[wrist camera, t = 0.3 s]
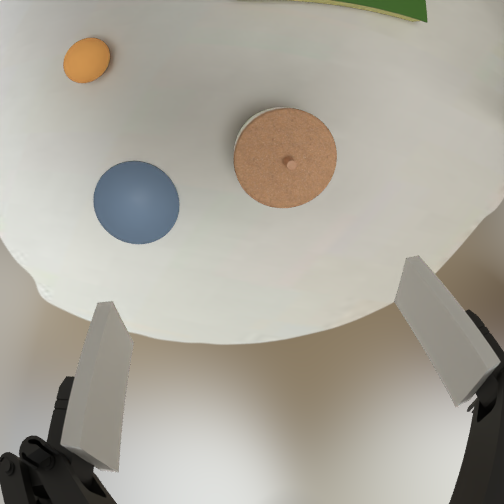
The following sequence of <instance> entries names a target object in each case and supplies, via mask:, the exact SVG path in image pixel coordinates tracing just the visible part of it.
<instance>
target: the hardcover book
mask: <svg viewBox="0 0 504 504" xmlns="http://www.w3.org/2000/svg"><path fill="white" fill-rule="evenodd" d="M289 1H304V2H315V3H324V4H332V5H339V6H346V7H352V8H357V9H363V10H368V11H373V12H377V13H382V14H386V15H390V16H394V17H398V18H401V19H405V20H409V21H412V22H414V21H423V22H427V11H426V1H425V0H289Z"/></svg>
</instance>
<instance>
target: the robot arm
mask: <svg viewBox="0 0 504 504" xmlns="http://www.w3.org/2000/svg"><path fill="white" fill-rule="evenodd" d="M394 302H395V304H396V305H397V306H398V308H399V310H400V311H401V313H402V314H403V316H404V318H405V319H406V321H407V322H408V324H409V326H410V327H411V329H412V330H413V332H414V334H415V335H416V337H417V339H418V340H419V342H420V344H421V345H422V347H423V348H424V350H425V352H426V354H427V355H428V357H429V359H430V361H431V362H432V364H433V366H434V368H435V369H436V371H437V373H438V375H439V377H440V378H441V380H442V382H443V384H444V386H445V388H446V389H447V391H448V393H449V395H450V397H451V399H452V401H453V403H454V405H455V407H458V406H460V405H462V404H463V403H465V402H467V401H469V400H470V398H471V397H472V396H473V395H474V394H475V393H476V395H477V398H476V400H475V401H474V402H473V403H472V404H471V405H470V406H469V407H468V409H467V412H469V411H470V410H471V409H472V408H473V407H474V410H473V411H472V413H473V417H472V423H471V428H470V433H469V437H468V442H467V446H466V450H465V454H464V458H463V462H462V466H461V469H460V472H459V476H458V479H457V482H456V485H455V489H454V492H453V495H452V497H451V500H450V503H449V504H504V352H503V350H502V349H501V347H500V346H499V344H498V343H497V341H496V340H495V339H494V337H493V336H492V334H490V333H489V330H488V329H487V327H485V326H484V323H483V322H482V321H481V319H480V318H479V317H478V316H477V315H476V314H474V313H473V312H472V311H470V310H467V311H464V309H463V308H462V307H461V305H460V304H459V303H458V302H457V300H456V299H455V298H454V297H453V295H452V294H451V293H450V292H449V290H448V289H447V288H446V287H445V286H444V284H443V283H442V282H441V281H440V279H439V278H438V277H437V276H436V275H435V274H434V272H433V271H432V270H431V269H430V268H429V267H428V265H427V264H426V263H425V262H424V261H423V260H422V259H421V258H420V256H414V257H409V258H406V261H405V265H404V269H403V272H402V276H401V280H400V284H399V287H398V291H397V294H396V297H395V301H394ZM133 345H134V342H133V340H132V338H131V336H130V335H129V333H128V331H127V329H126V327H125V325H124V323H123V321H122V319H121V317H120V315H119V313H118V311H117V309H116V307H115V305H114V303H113V301H110V302H101V303H97V306H96V309H95V312H94V315H93V318H92V321H91V324H90V327H89V330H88V333H87V337H86V339H85V343H84V346H83V350H82V353H81V356H80V360H79V363H78V367H77V371H76V374H75V377H66V378H65V379H64V381H63V382H62V384H61V385H60V387H59V391H58V395H57V401H56V402H55V407H54V408H55V410H54V411H53V415H52V420H51V424H50V429H49V434H48V439H47V442H45V441H44V440H43V439H41V438H39V437H38V436H29V437H27V438H26V439H25V440H24V441H23V442H22V444H21V446H20V450H19V455H20V457H17V456H16V455H14V454H12V453H10V452H6V453H4V454H2V455H1V457H0V484H1V489H2V494H3V498H4V502H5V504H117V503H116V502H115V501H114V499H113V498H112V497H111V495H110V494H109V493H108V491H107V490H106V488H105V487H104V486H103V485H102V483H101V481H100V480H99V479H98V477H97V476H96V475H95V474H94V473H93V469H94V467H96V468H98V469H100V470H102V471H110V472H119V457H120V444H121V432H122V422H123V413H124V405H125V397H126V388H127V381H128V374H129V369H130V362H131V356H132V349H133Z"/></svg>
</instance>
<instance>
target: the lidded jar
mask: <svg viewBox="0 0 504 504" xmlns="http://www.w3.org/2000/svg"><path fill="white" fill-rule="evenodd" d="M336 160H337V151H336V146H335V142H334V139H333V136H332V135H331V133H330V131H329V129H328V128H327V127H326V126H325V125H324V123H323V122H321V121H320V120H319V119H318V118H316V117H315V116H313V115H312V114H310V113H307V112H305V111H302V110H298V109H294V108H286V107H278V108H270V109H267V110H263V111H261V112H259V113H257V114H256V115H254V116H253V117H251V118H250V119H249V120H248V121H247V122H246V123H245V124H244V125H243V127H242V128H241V130H240V131H239V133H238V135H237V138H236V141H235V146H234V168H235V173H236V175H237V178H238V181H239V183H240V184H241V186H242V188H243V189H244V190H245V191H246V193H247V194H248V195H250V196H251V197H252V198H253V199H255V200H256V201H258V202H260V203H262V204H264V205H267V206H270V207H276V208H290V207H296V206H299V205H302V204H304V203H307V202H309V201H310V200H312V199H313V198H315V197H316V196H318V195H319V194H320V193H321V192H322V191H323V190H324V189H325V187H326V186H327V185H328V183H329V182H330V180H331V178H332V176H333V174H334V170H335V167H336Z"/></svg>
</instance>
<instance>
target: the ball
mask: <svg viewBox="0 0 504 504" xmlns="http://www.w3.org/2000/svg"><path fill="white" fill-rule="evenodd" d="M109 61H110V52H109V49H108V47H107V45H106V44H105V43H104V42H103V41H101V40H100V39H97V38H85V39H82V40H80V41H78V42H76V43H75V44H73V45H72V46H71V47H70V49H69V50H68V51H67V53H66V55H65V58H64V63H63V66H64V71H65V73H66V75H67V76H68V78H70V79H71V80H72V81H74V82H78V83H87V82H91V81H93V80H95V79H97V78H98V77H100V76H101V75H102V74H103V73H104V71H105V70H106V68H107V66H108V64H109Z"/></svg>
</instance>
